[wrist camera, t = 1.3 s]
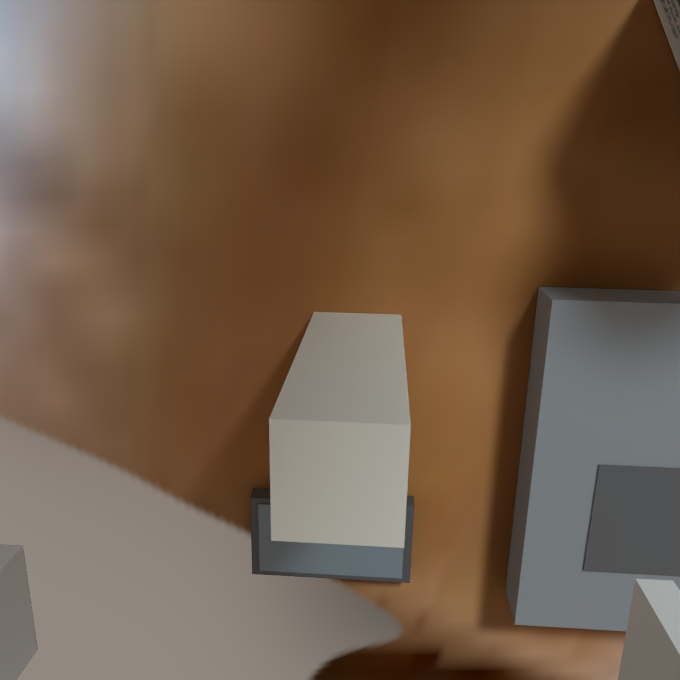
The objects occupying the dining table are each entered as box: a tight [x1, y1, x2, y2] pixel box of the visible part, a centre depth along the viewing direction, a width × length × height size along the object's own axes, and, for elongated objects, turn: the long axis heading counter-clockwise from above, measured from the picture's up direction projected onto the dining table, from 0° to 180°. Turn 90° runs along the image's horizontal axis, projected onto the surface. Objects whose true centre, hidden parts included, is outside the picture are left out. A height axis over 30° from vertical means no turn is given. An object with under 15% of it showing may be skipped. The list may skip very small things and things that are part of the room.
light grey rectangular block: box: [269, 312, 411, 548], centre depth 25 cm, size 4×4×12 cm
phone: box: [250, 488, 414, 583], centre depth 33 cm, size 4×8×1 cm, turn 89°
